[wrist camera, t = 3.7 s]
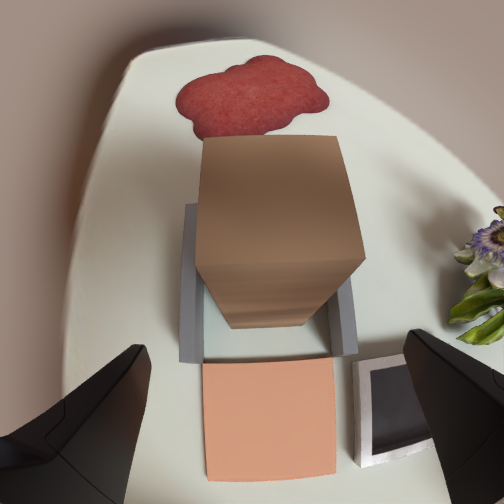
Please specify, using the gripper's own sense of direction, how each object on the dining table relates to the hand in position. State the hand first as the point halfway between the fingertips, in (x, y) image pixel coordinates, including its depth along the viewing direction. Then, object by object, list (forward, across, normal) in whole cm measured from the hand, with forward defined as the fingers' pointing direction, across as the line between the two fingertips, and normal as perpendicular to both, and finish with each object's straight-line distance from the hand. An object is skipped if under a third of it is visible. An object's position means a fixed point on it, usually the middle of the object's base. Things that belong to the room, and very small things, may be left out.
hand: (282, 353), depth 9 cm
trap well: (+5, -10, +11) cm, 16 cm away
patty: (+28, 0, -11) cm, 31 cm away
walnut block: (+11, 0, +4) cm, 12 cm away
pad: (+5, 0, +11) cm, 12 cm away
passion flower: (+10, -21, +6) cm, 24 cm away
